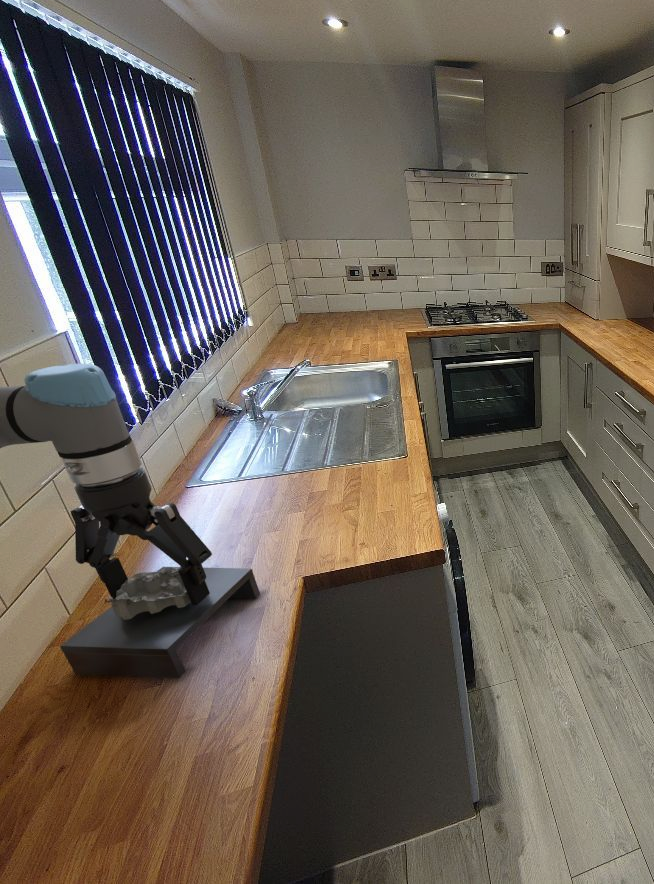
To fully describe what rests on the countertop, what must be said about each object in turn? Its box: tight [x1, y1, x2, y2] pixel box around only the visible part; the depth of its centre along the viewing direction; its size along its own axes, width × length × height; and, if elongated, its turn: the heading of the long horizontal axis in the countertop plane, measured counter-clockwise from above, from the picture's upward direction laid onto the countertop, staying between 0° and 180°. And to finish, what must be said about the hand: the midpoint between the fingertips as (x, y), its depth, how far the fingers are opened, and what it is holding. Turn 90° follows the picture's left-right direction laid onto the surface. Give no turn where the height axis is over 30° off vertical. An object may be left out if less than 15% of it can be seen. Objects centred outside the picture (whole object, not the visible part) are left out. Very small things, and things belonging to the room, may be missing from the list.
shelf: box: [59, 566, 261, 679], centre depth 83 cm, size 16×18×6 cm
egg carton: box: [104, 565, 191, 620], centre depth 81 cm, size 11×8×4 cm
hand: (162, 598), depth 82 cm, fingers closed on egg carton, 12 cm apart
